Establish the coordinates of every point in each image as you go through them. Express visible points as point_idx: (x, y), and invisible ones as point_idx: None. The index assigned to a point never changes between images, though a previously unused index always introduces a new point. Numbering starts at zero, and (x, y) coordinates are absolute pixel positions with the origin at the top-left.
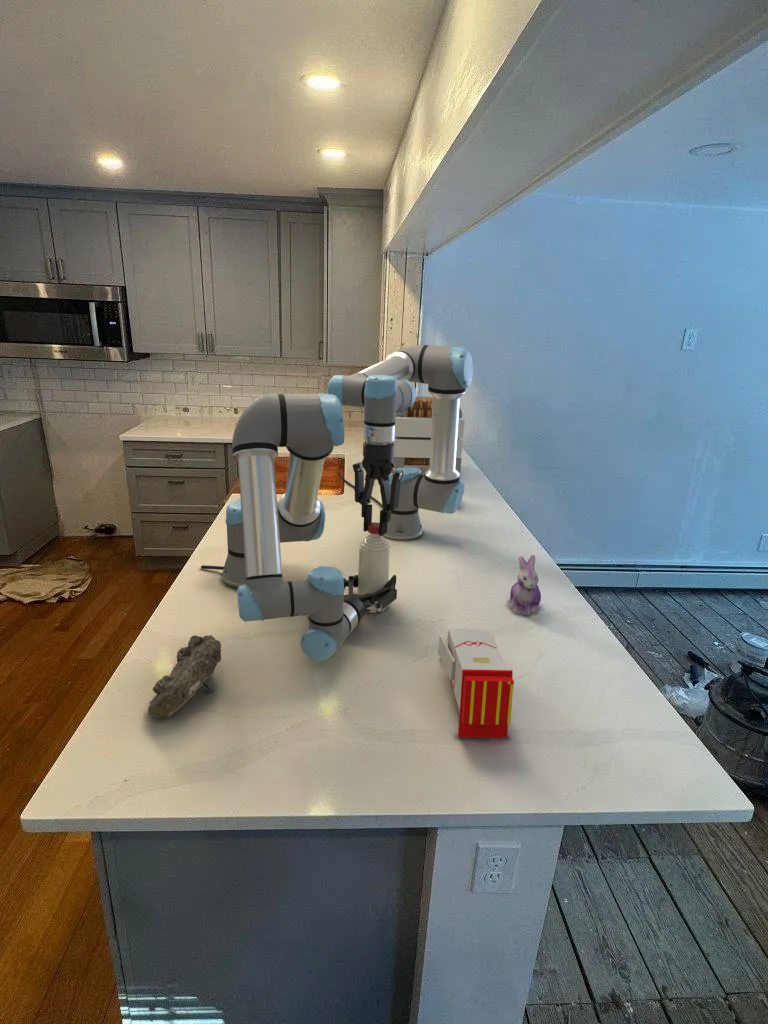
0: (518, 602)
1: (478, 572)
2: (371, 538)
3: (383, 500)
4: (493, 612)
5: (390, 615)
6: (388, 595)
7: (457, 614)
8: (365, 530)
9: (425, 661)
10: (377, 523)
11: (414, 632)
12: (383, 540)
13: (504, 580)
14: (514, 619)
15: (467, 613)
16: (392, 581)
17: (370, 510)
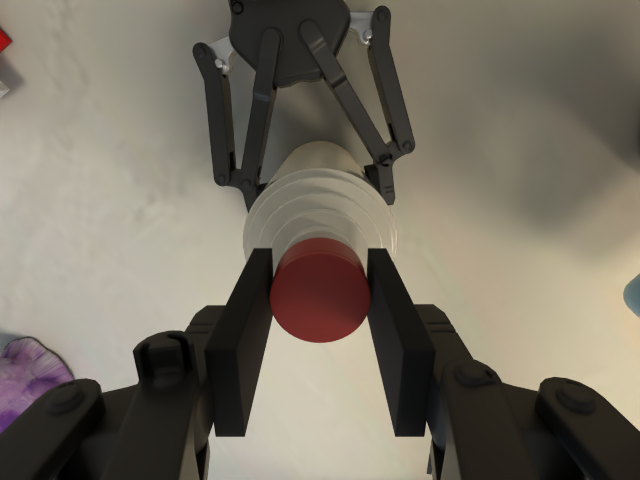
0: (11, 359)
1: None
2: (318, 229)
3: (144, 473)
4: (71, 316)
5: None
6: (214, 131)
7: (126, 264)
8: (371, 250)
9: (42, 9)
10: (322, 327)
11: (153, 125)
12: None
13: None
14: (20, 314)
15: (112, 281)
16: None
17: (388, 376)
